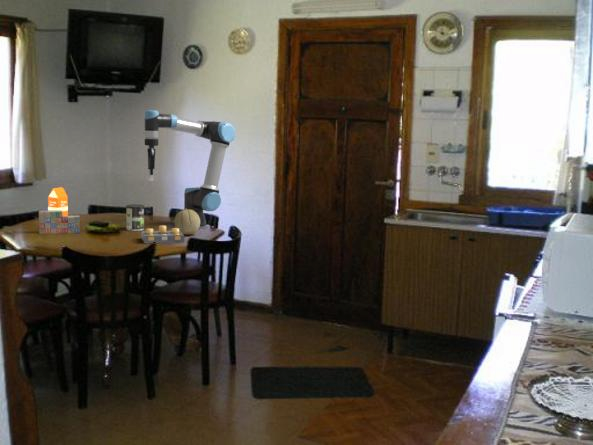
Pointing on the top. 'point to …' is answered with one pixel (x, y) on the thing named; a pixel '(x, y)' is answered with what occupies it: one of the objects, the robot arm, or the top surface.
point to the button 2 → (175, 230)
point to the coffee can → (135, 217)
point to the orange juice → (58, 200)
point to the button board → (162, 237)
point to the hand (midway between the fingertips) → (151, 180)
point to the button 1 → (149, 231)
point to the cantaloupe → (187, 221)
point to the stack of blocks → (57, 222)
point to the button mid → (162, 229)
